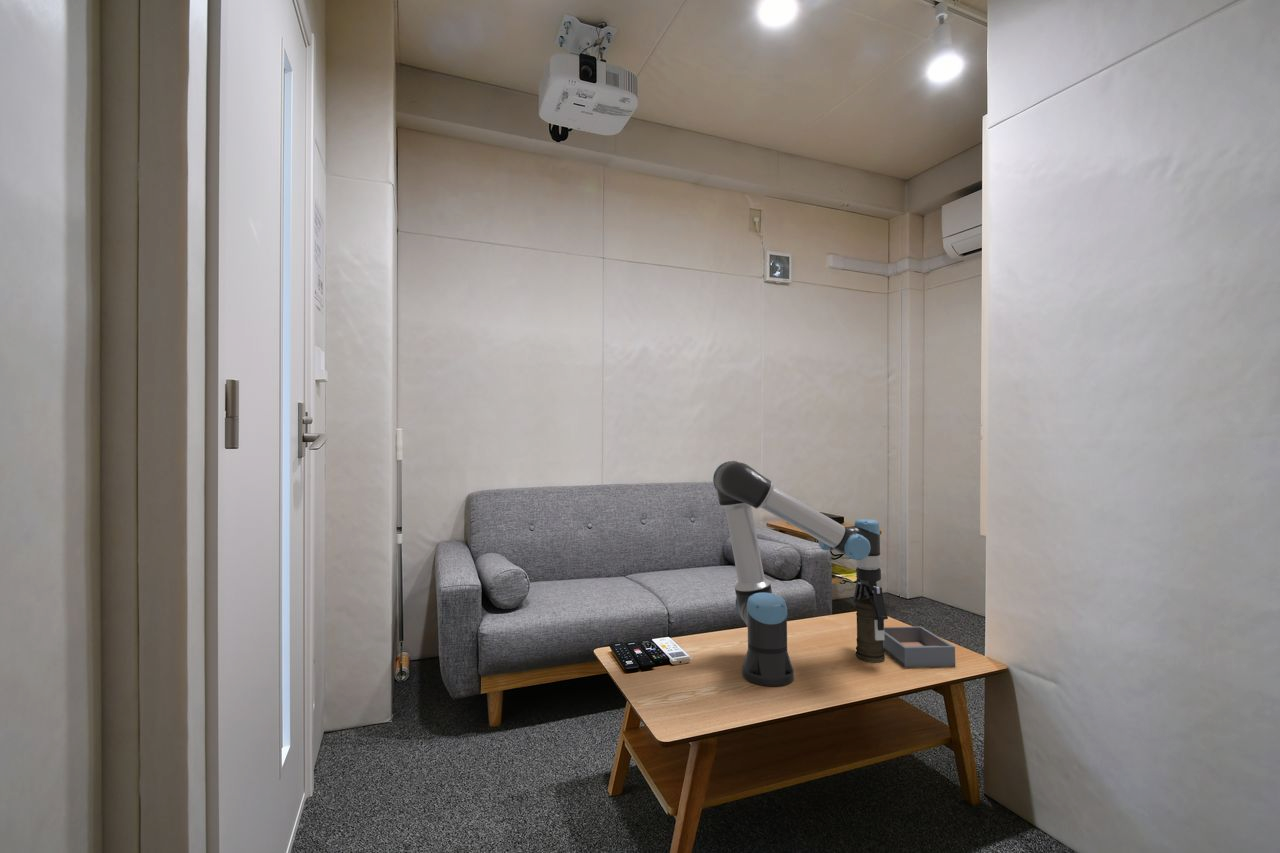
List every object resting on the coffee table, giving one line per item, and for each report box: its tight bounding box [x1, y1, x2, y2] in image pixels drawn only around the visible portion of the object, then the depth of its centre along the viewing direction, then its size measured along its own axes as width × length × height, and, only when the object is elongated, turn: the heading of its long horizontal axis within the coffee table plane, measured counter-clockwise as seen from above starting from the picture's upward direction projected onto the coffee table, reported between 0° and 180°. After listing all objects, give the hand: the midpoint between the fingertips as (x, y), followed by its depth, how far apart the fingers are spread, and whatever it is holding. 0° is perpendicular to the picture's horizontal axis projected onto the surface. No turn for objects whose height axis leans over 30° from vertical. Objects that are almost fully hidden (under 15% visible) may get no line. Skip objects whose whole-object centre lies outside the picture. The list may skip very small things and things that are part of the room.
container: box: [854, 598, 886, 663], centre depth 187 cm, size 9×9×18 cm
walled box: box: [882, 626, 956, 668], centre depth 189 cm, size 16×20×6 cm
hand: (870, 632), depth 187 cm, fingers open, 13 cm apart
